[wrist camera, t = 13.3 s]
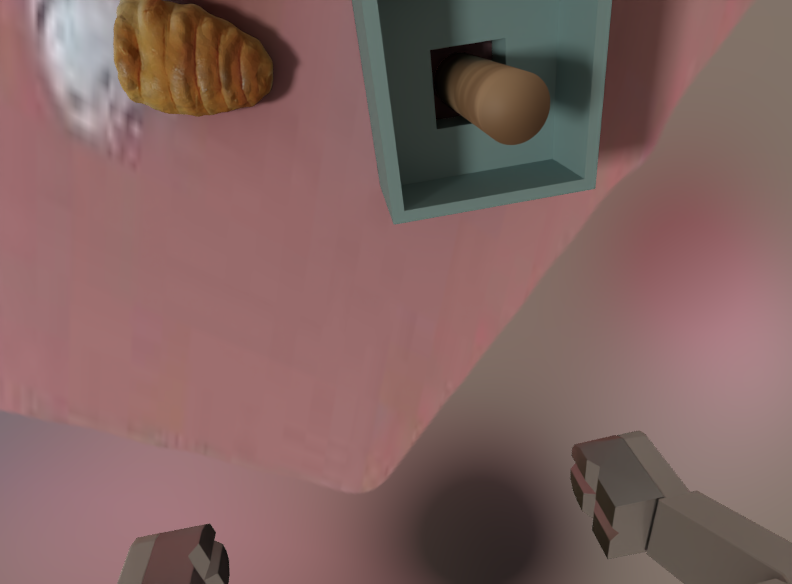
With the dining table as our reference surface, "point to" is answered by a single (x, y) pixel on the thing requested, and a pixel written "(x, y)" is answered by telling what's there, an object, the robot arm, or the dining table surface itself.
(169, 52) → the pastry
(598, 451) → the robot arm
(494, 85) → the peg
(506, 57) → the box
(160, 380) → the dining table surface
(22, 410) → the dining table surface
